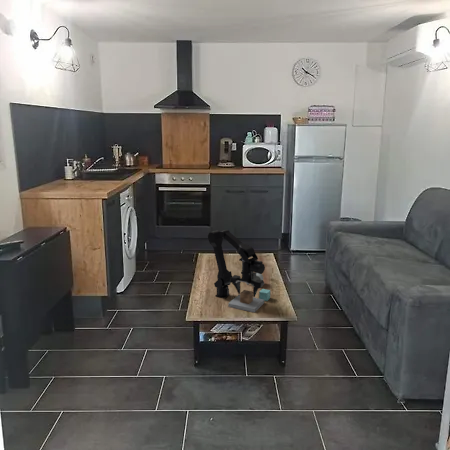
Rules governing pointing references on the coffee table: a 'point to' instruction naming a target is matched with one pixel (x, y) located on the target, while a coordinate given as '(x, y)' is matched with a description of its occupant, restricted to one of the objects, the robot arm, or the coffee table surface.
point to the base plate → (247, 307)
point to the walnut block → (246, 296)
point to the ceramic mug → (258, 276)
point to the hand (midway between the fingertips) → (246, 295)
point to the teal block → (264, 294)
